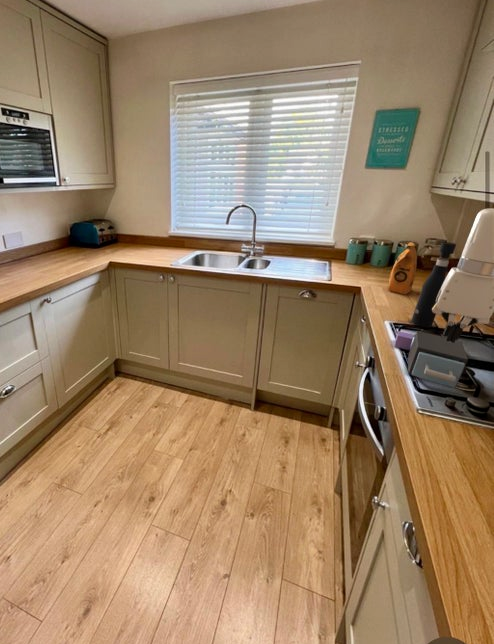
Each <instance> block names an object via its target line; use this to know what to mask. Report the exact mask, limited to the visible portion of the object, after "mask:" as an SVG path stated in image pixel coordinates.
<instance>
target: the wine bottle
mask: <svg viewBox="0 0 494 644" xmlns="http://www.w3.org/2000/svg"><path fill="white" fill-rule="evenodd" d="M456 247H457V243H454V242H450V241H448V242H447V241H443V242H441V245H440V248H439V251H438V252H439V253H440V255H439V257H438V258H437V260H436V263H435V264H434V266H433V268H432V272H431V273H430V274H429V275H428V276H427V278H426V279H425V281H424V283H423V285H422V287H421V291H420V293H419V297H418V299H417V302H416V304H415V308H414V311H413V314H412V317H411V320H410V322H411V324H413V325H415V326H417V327H421V328H427V329H428V328H429V329H430V328H431V327H433V325H434V321H435V318H436V316H437V314H435V313H433V312H432V308H433V307H434V305H435V304H436V298H437V296H438V293H439V291H440V289H441V287H442V284H443V282H444V280H445V279H446V277H447V275H446V274H447V272H448V268H449V266H448V265H449V264H450V262H449V259H450V256H451V255H453V254H454V252H455V249H456Z"/></svg>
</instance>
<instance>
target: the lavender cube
mask: <svg viewBox="0 0 494 644" xmlns="http://www.w3.org/2000/svg"><path fill="white" fill-rule="evenodd" d="M413 340H414V337H413V334H412V333H409V332H405V331H401V330H398V331H397V334H396V336H395V339H394V347H395V348H398V349H403V350H405V351H410V349H411V346H412V343H413Z"/></svg>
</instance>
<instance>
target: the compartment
mask: <svg viewBox="0 0 494 644" xmlns="http://www.w3.org/2000/svg"><path fill="white" fill-rule="evenodd" d="M420 351H424V352H428V353H432V354H436V355H440V356H444V357H448V358H452V359H456V360H460V361H459V362H463V363H464V364H465V365H464V368H463V370H462V373H461V375H460V377H459V380H458V382H457V384H456V387H454V388H456V389H457V387H458V385H459V382H460V379H461V377H462V374H463V372H464V370H465V368H466V365H467V363H468V361H469V359H468V355H467V352H466V349H465V346H464V343H463V340H459V339H456V340H455V342H454V343H453V342H451V341H449V342H448V341H446V339H445V336H443V335H442V336H441V335H438V334H433V333H428V332H423V331H419V330H416V332H415V334H414V337H413V340H412V343H411V346H410V349H409V352H408V355H407V372H408V373H407V374H408V375H409V376H413V375H412V371H413V368H414V365H415V363H416V360H417V357H418V354H419V352H420ZM415 377H416V378H418V377H417V376H415ZM422 379H423V380H425V379H424V378H422ZM429 381H431V380H429ZM431 382H432V381H431ZM436 383H438V382H436ZM438 384H439V383H438ZM443 385H444V386H446V385H445V384H443Z"/></svg>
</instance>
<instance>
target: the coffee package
mask: <svg viewBox="0 0 494 644" xmlns="http://www.w3.org/2000/svg"><path fill="white" fill-rule="evenodd" d="M415 246H416V244H415V243H414V242H413V241H411V242H408V243H407V246H406V247H405V248H406V249H405V250H404V251H402V252H401V253H400V254H399V255H398V256H397V258H396V260H395V262H394V264H393V266H392V269H391V271H390V274H389V278H388V279H389V280H388V284H387V285H388V286H387V289H388V291H389V292H394V293H397V294H402V295H408V293H409V292H410V291H411V290H412V289H413V285H414V281H415V277H416V272H417V266H418V264H417V263H418V262H417V261H418V252H417V250H416V248H415Z"/></svg>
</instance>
